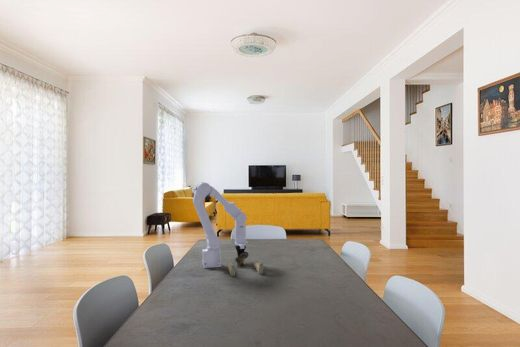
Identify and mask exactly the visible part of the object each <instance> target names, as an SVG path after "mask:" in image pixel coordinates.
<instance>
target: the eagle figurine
mask: <svg viewBox="0 0 520 347" xmlns="http://www.w3.org/2000/svg"><path fill="white" fill-rule="evenodd" d="M249 255H250V254H249V253H248V251H244V252H243V253H241V254H240V257H239V258H238V256H235V257H233V262H236V264H238V267H240V266H241V265H242V264H243V265H244V266H246V262H245V260H246V259H247V258H249Z"/></svg>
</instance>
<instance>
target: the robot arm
mask: <svg viewBox="0 0 520 347" xmlns="http://www.w3.org/2000/svg"><path fill="white" fill-rule="evenodd" d="M207 196H210V197H213V198H214V199H216V200H217V201H218V202H219V203H220V204H221V205H222V206H223V209H224V211H225V213H227V214H228V215H229V216H230V217H232V218H233V220H234V247H235V250H236V254H237V257H238V258H239V257H240V254H241V253H243V252H246V251H245V250H246V248H247V247H246V244H249V242H248V241H246V240H247V239H246V230H247V229H246V221H247V220H248V218H247V214H246V213H244V212H243V211H242V209H241V208H239V207H238V206H237V204H236V203H235V202H232V201H228V200H227V199H226V198H225V197H224V196H223V195H222V194H221V193H220V192H219V191H218V190H217V189H215V187H213V186H211V185H210V184H209V183H208V182H203V181H202V182H199V183H198V184H197V186H196V187H195V189H194V193H193V198H192V203H193V206H194V209H195V211H196V213H197V216H198V218H199V220H200V224H201V225H202V226H201V227H202V229H203V231H204V234H205V237H206V239H205V242H206V245H207V246H206V248H202V260H201V264H202V268H203V269H208V268H209V269H210V268H222V267H223V266H222V263H221V243H222V241H221V239H220V238H219V237H218V236H217V233H216V231H215V229H214V228H213V224H212V222H211V220H210V216H209V214H208V212H207V210H206V207H205V204H204V201H205V199H206V197H207Z"/></svg>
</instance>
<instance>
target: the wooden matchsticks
mask: <svg viewBox="0 0 520 347" xmlns="http://www.w3.org/2000/svg"><path fill="white" fill-rule="evenodd" d="M253 266H254V268H255V271H256V272H257V273H258V275H260V276H261V275H264V263H263V262H259V261H258V260H254V264H253ZM227 269H228V272H229V277H232V278H234V277H236V265H235V264H232V262H227Z"/></svg>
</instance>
